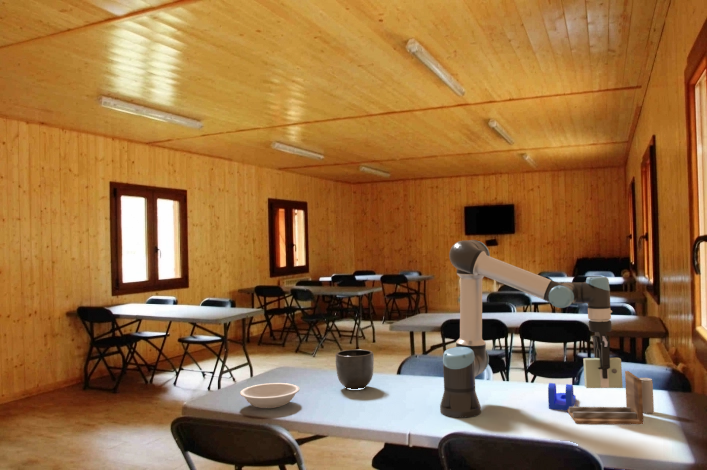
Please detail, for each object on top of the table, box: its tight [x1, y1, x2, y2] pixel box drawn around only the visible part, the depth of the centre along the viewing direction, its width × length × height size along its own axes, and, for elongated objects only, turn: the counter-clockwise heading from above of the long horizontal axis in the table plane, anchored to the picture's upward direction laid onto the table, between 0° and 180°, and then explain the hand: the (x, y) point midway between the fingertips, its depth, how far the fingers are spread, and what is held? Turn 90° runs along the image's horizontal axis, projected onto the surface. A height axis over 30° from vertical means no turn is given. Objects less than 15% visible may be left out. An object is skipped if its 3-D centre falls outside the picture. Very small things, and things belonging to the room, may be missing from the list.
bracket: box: [547, 382, 577, 411], centre depth 223 cm, size 18×8×9 cm, turn 154°
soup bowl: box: [239, 382, 300, 409], centre depth 233 cm, size 24×24×7 cm
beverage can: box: [638, 377, 655, 415], centre depth 209 cm, size 5×5×12 cm
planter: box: [334, 348, 375, 389], centre depth 257 cm, size 17×17×16 cm
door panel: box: [582, 357, 623, 389], centre depth 204 cm, size 12×4×10 cm, turn 81°
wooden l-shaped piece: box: [566, 370, 644, 425], centre depth 204 cm, size 22×14×15 cm, turn 81°
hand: (603, 385), depth 204 cm, fingers closed on door panel, 3 cm apart
